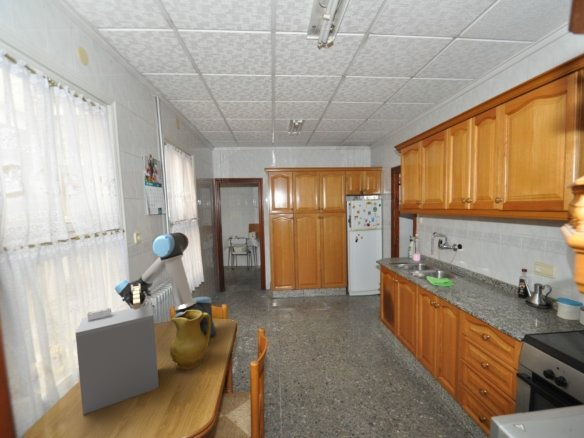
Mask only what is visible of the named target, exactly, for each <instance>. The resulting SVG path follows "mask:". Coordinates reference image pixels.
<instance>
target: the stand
mask: <svg viewBox="0 0 584 438" xmlns="http://www.w3.org/2000/svg"><path fill="white" fill-rule="evenodd" d="M111 314H112V315H111V316H110V317H106V318H101V319H96V320H92V321H88V317H84V318H82V319H81V320H80V323H79V325H78V327H77V329H76V331H75V342H76V353H77V362H78V372H79V374H78V376H79V384H80V396H81V397H80V398H81V406H82V416H83V415H87V414H89V413H92V412H94V411H98V410H101V409H104V408H106V407H108V406H111V405H114V404H117V403H120V402H122V401H125V400H128V399H131V398H133V397H137V396H140V395H143V394H145V393H148V392H150V391H153V390H156V389H158V388H159V387H160V386H159V385H160V383H159V371H158V360H157V358H158V357H157V346H156V345H157V344H156V334H155V321H154V312H153V307H152V303H151V304H147V305H145V306H141V308H140V309H135V310H134V308H131V309H130V308H127V309H123V310H117V311H113V312H112V311H111Z"/></svg>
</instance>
